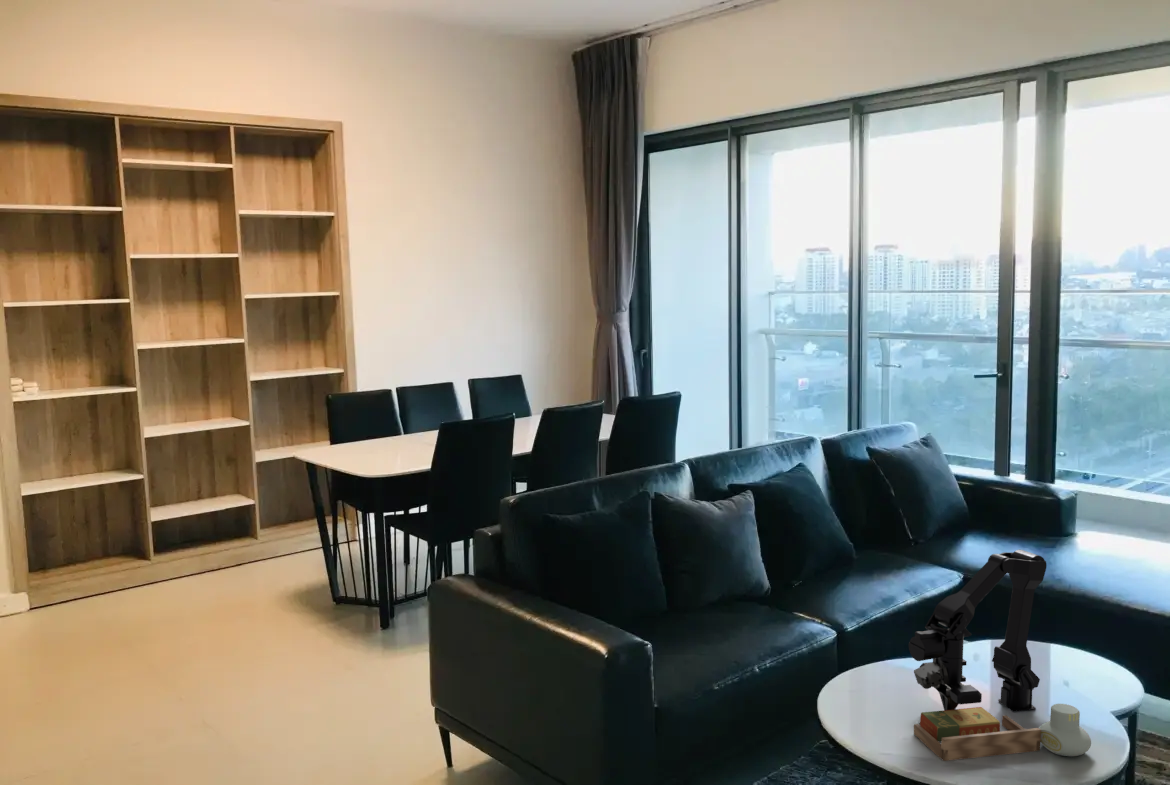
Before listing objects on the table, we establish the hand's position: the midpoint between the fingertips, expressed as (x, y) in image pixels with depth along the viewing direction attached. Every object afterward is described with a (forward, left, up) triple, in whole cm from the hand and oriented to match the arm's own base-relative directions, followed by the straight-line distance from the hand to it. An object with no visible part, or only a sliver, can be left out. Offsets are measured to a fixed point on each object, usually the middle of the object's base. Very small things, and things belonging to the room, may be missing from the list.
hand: (948, 715), depth 233 cm
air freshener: (-17, +19, -1) cm, 26 cm away
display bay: (0, +12, -1) cm, 12 cm away
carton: (0, +6, -2) cm, 6 cm away
